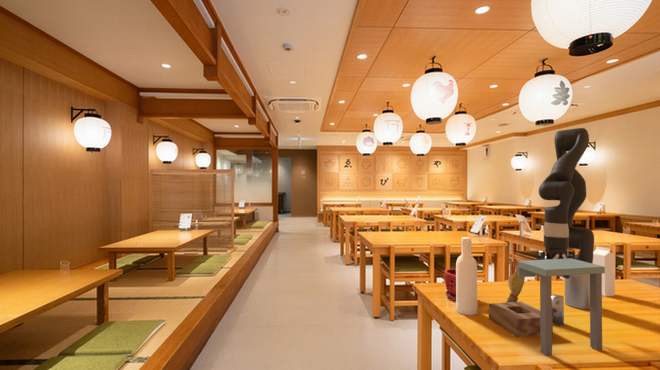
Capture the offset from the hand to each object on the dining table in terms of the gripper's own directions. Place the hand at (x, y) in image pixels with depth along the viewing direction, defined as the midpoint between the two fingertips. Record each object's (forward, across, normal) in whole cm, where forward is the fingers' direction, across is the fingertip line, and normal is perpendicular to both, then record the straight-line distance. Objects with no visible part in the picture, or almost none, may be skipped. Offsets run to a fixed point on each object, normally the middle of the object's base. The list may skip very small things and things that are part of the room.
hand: (555, 278), depth 113 cm
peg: (+16, 0, 0) cm, 17 cm away
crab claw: (+17, +7, -13) cm, 22 cm away
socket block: (+17, +15, 0) cm, 23 cm away
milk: (+16, -49, -24) cm, 57 cm away
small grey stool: (+17, +12, +14) cm, 25 cm away
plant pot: (+17, +21, -29) cm, 39 cm away
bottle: (+17, +27, -15) cm, 35 cm away
